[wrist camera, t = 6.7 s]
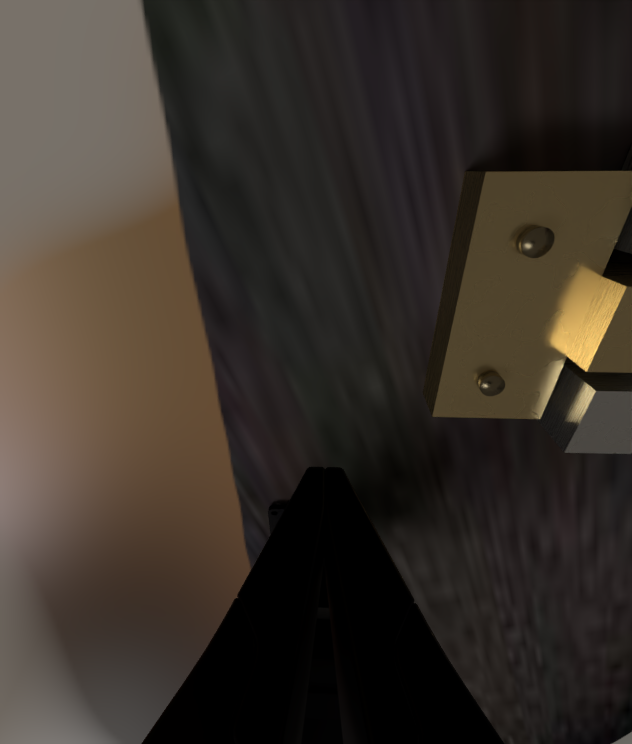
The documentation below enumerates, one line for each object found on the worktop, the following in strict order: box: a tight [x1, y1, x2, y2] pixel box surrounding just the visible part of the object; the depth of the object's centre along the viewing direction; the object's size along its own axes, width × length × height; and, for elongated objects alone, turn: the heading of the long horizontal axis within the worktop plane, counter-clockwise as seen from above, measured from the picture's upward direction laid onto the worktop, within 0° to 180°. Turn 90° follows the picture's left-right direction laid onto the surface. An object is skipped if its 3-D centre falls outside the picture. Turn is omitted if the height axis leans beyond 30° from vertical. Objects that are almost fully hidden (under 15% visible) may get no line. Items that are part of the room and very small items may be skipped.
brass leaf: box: [423, 170, 632, 419], centre depth 16 cm, size 12×10×4 cm
